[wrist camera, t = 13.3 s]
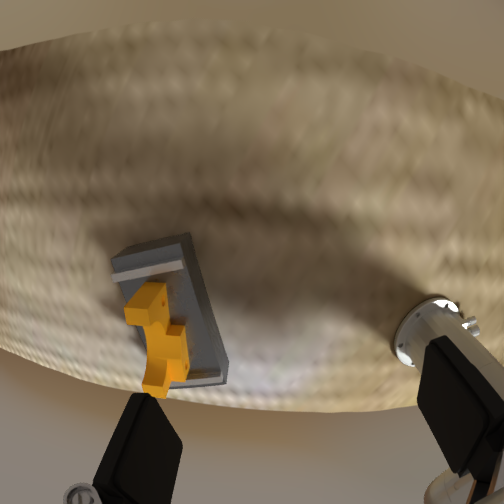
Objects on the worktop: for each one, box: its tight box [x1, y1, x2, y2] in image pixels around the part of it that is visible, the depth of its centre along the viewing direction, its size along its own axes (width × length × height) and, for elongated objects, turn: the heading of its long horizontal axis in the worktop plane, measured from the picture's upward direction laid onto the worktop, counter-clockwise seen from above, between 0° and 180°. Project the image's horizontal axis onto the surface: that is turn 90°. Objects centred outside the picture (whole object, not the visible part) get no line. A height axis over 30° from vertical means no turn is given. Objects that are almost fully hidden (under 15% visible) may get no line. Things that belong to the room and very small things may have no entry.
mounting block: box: [111, 232, 229, 389], centre depth 36 cm, size 9×20×6 cm, turn 12°
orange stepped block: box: [124, 282, 190, 399], centre depth 32 cm, size 12×4×6 cm, turn 0°
